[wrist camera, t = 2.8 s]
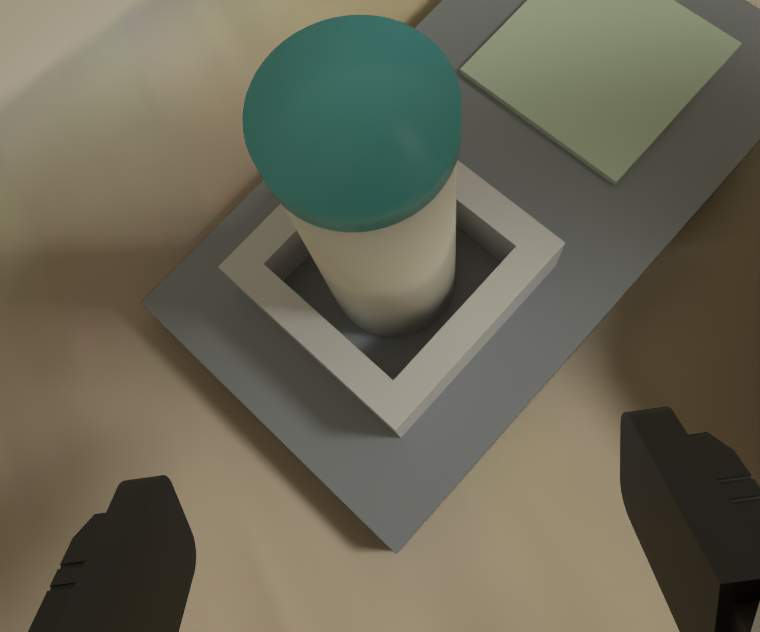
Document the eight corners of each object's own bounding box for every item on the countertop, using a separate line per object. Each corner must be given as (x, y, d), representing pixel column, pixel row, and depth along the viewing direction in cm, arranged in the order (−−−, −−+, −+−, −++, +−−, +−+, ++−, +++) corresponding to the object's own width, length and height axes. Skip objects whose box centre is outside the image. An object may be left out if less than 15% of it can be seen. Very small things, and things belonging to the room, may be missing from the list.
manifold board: (552, -88, 33) (565, -166, 29) (815, 76, 29) (870, 12, 26) (155, 312, 29) (110, 283, 26) (399, 551, 26) (389, 559, 22)
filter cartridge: (389, 194, 28) (347, -22, 17) (484, 271, 27) (508, 95, 15) (304, 283, 28) (198, 122, 16) (397, 366, 26) (355, 256, 15)
